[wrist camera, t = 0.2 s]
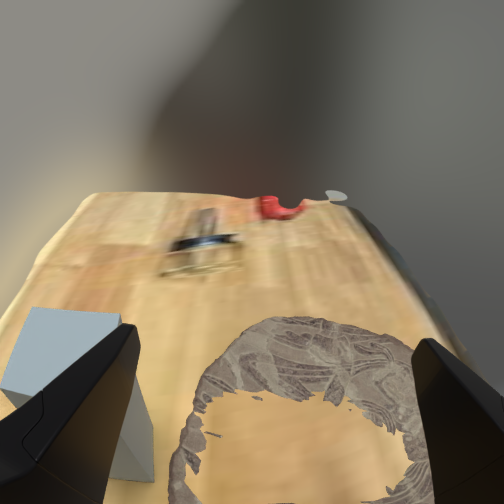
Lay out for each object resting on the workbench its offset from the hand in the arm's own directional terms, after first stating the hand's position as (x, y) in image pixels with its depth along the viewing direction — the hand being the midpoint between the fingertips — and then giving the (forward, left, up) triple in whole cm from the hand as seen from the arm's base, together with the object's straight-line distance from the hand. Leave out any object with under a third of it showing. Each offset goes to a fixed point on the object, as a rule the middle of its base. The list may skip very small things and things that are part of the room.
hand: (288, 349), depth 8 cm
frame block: (+1, +9, -16) cm, 19 cm away
